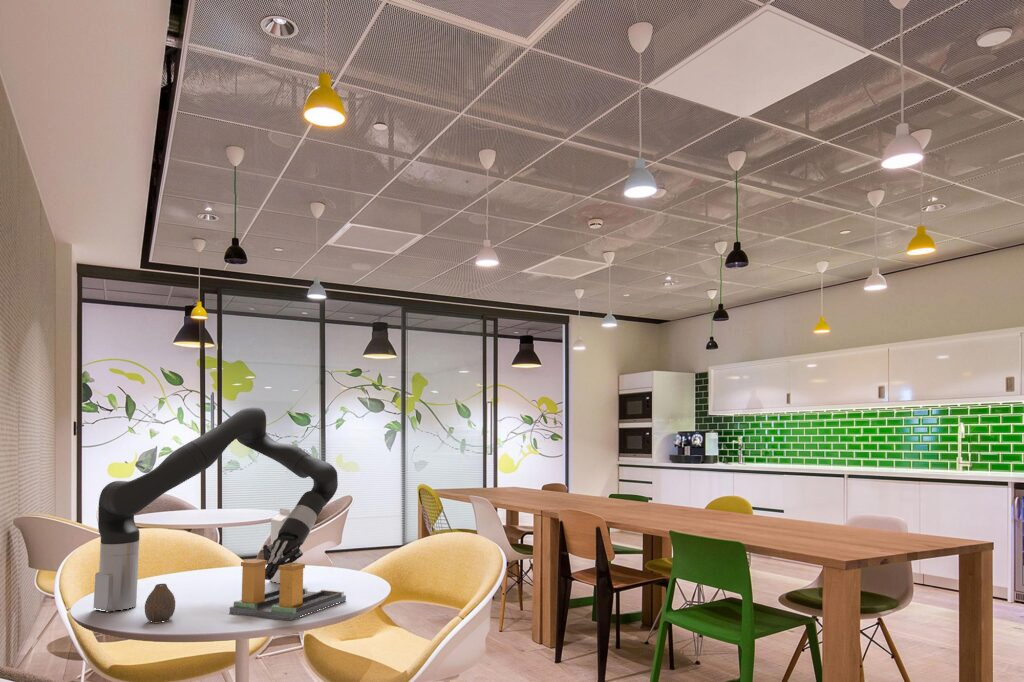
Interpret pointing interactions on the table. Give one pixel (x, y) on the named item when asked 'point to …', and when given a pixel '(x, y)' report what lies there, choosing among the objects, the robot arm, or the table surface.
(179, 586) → the table surface
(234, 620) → the table surface
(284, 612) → the twin pillar base
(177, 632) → the table surface
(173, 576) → the table surface
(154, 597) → the vase
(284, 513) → the milk
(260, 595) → the orange capped square pillar
